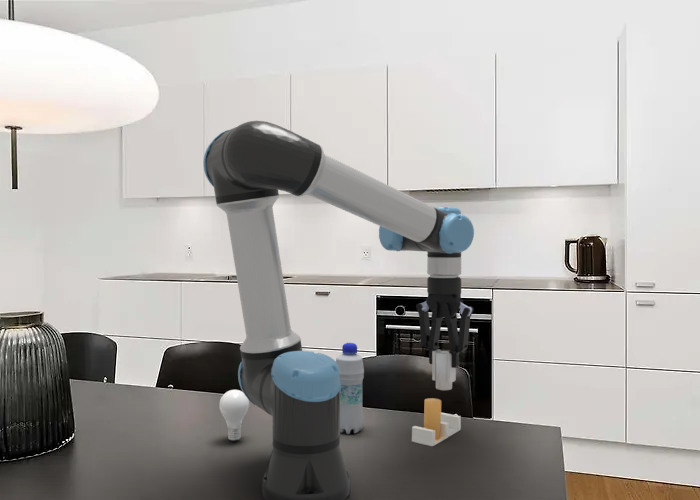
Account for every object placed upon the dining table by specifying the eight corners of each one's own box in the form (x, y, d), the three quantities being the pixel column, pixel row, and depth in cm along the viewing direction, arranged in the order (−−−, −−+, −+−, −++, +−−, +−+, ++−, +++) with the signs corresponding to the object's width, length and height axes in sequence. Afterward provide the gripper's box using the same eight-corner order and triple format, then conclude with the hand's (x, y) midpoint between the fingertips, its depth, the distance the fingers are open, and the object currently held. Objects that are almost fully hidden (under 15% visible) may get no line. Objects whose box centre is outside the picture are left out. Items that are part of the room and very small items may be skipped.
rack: (432, 446, 127) (432, 431, 127) (411, 441, 130) (411, 427, 130) (460, 429, 138) (460, 416, 138) (441, 425, 141) (441, 412, 140)
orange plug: (442, 435, 133) (443, 399, 132) (437, 440, 129) (438, 403, 129) (426, 433, 134) (427, 397, 134) (421, 438, 131) (422, 401, 130)
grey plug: (455, 387, 136) (455, 352, 135) (445, 391, 133) (444, 355, 133) (442, 384, 139) (442, 350, 138) (432, 387, 136) (432, 352, 136)
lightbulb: (213, 442, 129) (212, 391, 129) (232, 433, 135) (231, 385, 134) (236, 447, 126) (236, 395, 126) (255, 438, 132) (255, 388, 131)
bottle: (365, 426, 140) (365, 340, 139) (362, 436, 133) (363, 346, 133) (336, 425, 141) (336, 339, 140) (332, 435, 134) (332, 345, 133)
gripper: (484, 276, 133) (484, 382, 134) (421, 273, 143) (421, 372, 144) (470, 279, 127) (469, 389, 128) (404, 275, 137) (404, 378, 138)
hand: (443, 380), depth 136 cm, fingers closed on grey plug, 3 cm apart
